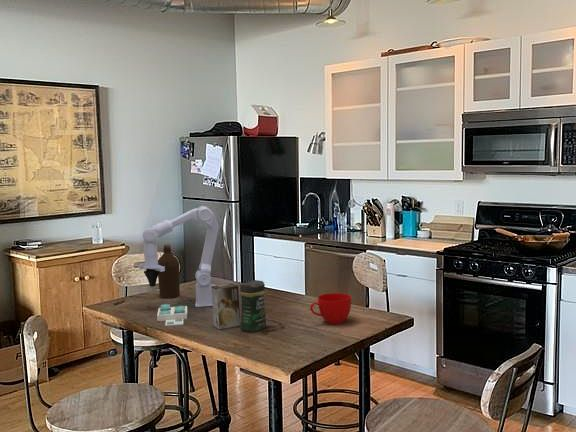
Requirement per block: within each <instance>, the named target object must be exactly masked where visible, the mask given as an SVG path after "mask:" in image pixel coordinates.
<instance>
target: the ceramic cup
mask: <svg viewBox="0 0 576 432" xmlns="http://www.w3.org/2000/svg"><path fill="white" fill-rule="evenodd" d="M314 305H315V306H316V305H317V306H318V310H319V312H320V313H317V312H315V311H314V309H313V306H314ZM351 307H352V296H351V295H350V294H346V293H341V292H340V293H339V292H338V293H337V292H334V293H333V292H331V293H324V294H320V295H318V296H317V302H312V303H311V304H310V307H309V308H310V309H309V310H310V311H311V312H312V314H314V315H315V316H319V317H322V318H323V320H324V321H325V322H326V323H327V324H330V325H340V324H343V323H344V322H345V321H346V319H347V318H348V317H349V315H350V312H351Z"/></svg>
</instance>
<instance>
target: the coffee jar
mask: <svg viewBox="0 0 576 432" xmlns="http://www.w3.org/2000/svg"><path fill="white" fill-rule="evenodd" d="M239 292H240V294H239V295H240V298H241V315H240V324H241V325H240V328H241V330H243V331H244V332H248V333H249V332H253V333H254V332H258V331H261V330H263V329H265V328H266V327H267V318H266V317H267V316H266V310H265V309H266V308H265V293H266V286H265V283H264V281H263V280H257V279H254V280H250V281H247V282H244V283H241V285H240V288H239Z"/></svg>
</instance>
